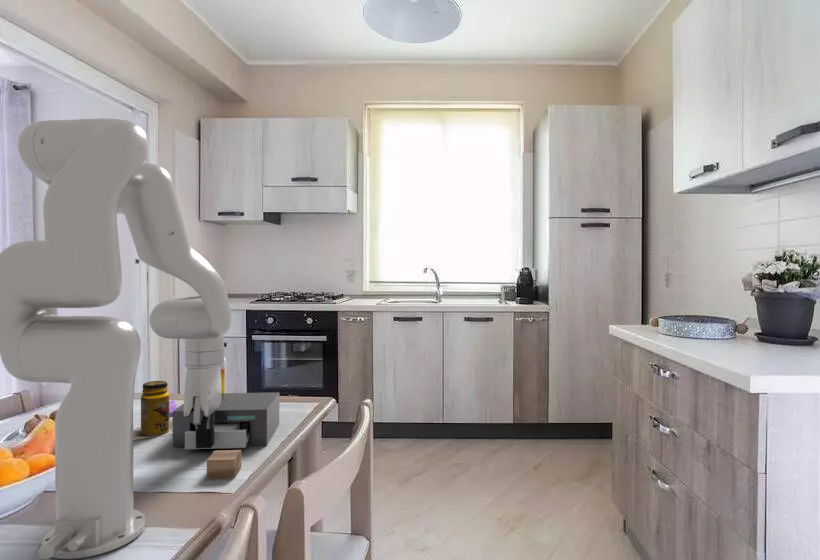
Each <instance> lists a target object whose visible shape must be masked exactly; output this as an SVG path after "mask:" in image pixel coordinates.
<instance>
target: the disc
mask: <svg viewBox="0 0 820 560" xmlns="http://www.w3.org/2000/svg"><path fill="white" fill-rule="evenodd" d="M218 430H240V422H214V431H218Z"/></svg>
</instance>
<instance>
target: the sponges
mask: <svg viewBox="0 0 820 560" xmlns="http://www.w3.org/2000/svg"><path fill="white" fill-rule="evenodd" d="M177 408H178V406H177V403H176V400H174V399H173V400H169V418H170V417H171V418H173V411H174V410H175V409H177Z"/></svg>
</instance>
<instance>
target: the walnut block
mask: <svg viewBox="0 0 820 560" xmlns="http://www.w3.org/2000/svg"><path fill="white" fill-rule="evenodd" d="M241 470H242V449H232V450H231V449H230V450H229V449H226V450H223V449H222V450H214V451H213V452H212V453H211V455H209V456H208V458H207V459H206V480H218V479H224V480H225V479H235V478H236V477H237V476H238V474H239V473H240V471H241Z"/></svg>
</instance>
